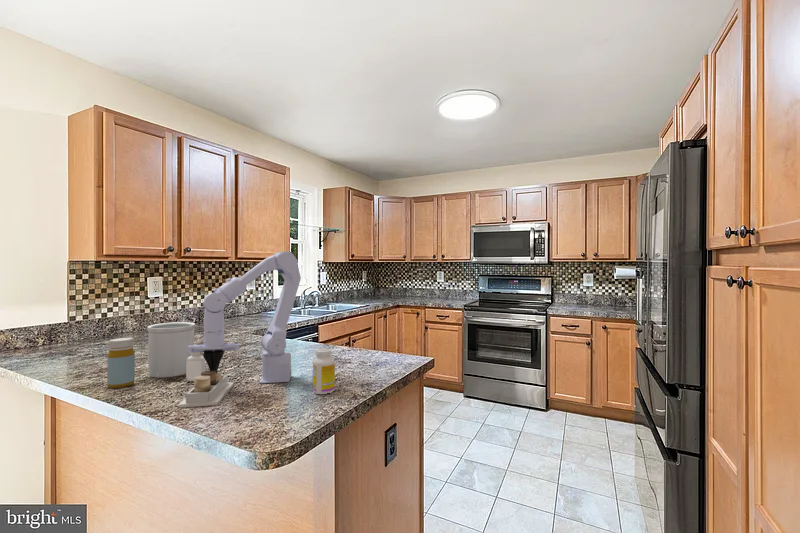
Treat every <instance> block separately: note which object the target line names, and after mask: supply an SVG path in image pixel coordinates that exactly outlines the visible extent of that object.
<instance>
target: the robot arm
mask: <svg viewBox="0 0 800 533" xmlns="http://www.w3.org/2000/svg"><path fill="white" fill-rule="evenodd" d="M270 271H271V272H272V271H277V272H279V274H280V275H281V276H282V278H283V279H284V281H283V285H282V288H281V292H280V295H279V299H278V301H277V303H276V307H275V311H274V314H273V317H272V321H271V324H270V325H269V327H268V328H267V330H266V332H265V334H264V335H263V336H262V338H261V342H260V343H261V346H262V348H263V349H264V350H263V351H262V353H261V356H262V359H261V360H262V362H261V363H262V364H261V365H262V366H261V368H262V370H261V373H262V374H261V376H262V377H261V378H260V380H259V383H258V384H270V383H271V384H272V383H286V382H287V383H288V382H290V380H291V377H292V372H293V371H292V354H291V352H285V350H286V348H287V340H286V337H287V326H288V322H289V320H290V317H291V316H290V315H291V312H292V310H293V306H294V302H295V301H296V300H295V299H296V296H297V292H298V289H299V286H300V283H301V279H302V278H301V272H300V269H299V261H298V259H297V258H296V256H295V255H294V253H292V252H290V251H288V250H285V251H280V252H279V251H278V252H275V253H273V255H270V256H268V257H266V258H264V259H263V260H261V261H260V262H259V263H257V264H256V265H255V266H253V267H251V269H250V270H248V271H247V272H245V273H244V274H243V275H241V276H239V277H237V276H233V277H229V278H227V279H226V281H225V282H224V283H223V284H222V285H221V286H219V287H218V288H217V287H215V288H214V289H213V292H211V293H208V294H207V295H206V296H205V297H204V299H203V301H202V305H203V307H204V311H203V312H204V317H203V344H194V345H190V346H188V353H192V352H200V353H201V352H202V353H203V354H202V356H203V357H204V359H205V363H206V364H207V366H208V371H211V370H213V371H216V374H217V372H219V366H220V363H221V360H222V358H223V356H224V354H225V351H226V352H228V351H230V352H231V351H235V352H236V351H237V352H238V351H239V350H240V343H229V342H227V343H225V315H224V308H225V307H226V305H227V304H229V303H231V302H232V301H234V300H235V299H236V298H238V297H239V296H240V295H242V294H243V293H244V292H245V291H246V290H247V285H248V284H250V283H252V282H254V281H255V280H256V279H258V278H259V277H260V276H262V275H263V274H265V273H267V272H270Z"/></svg>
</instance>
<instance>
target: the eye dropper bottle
mask: <svg viewBox="0 0 800 533" xmlns="http://www.w3.org/2000/svg"><path fill="white" fill-rule="evenodd" d="M204 371H206V360H205V359H204V357H203V355H201V352H192V356H190V357H188V358H187V361H186V374H185V375H186V376H185V378H186V379H185V380H186V381H187V382H194V378H196V377H199V376H201V373H202V372H204Z"/></svg>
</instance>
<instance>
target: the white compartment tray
mask: <svg viewBox="0 0 800 533" xmlns="http://www.w3.org/2000/svg"><path fill="white" fill-rule="evenodd" d="M234 383H235V382H234V381H233V382H232V381H231V382H229V375H228V374H221V380H216V385H211V386H210V391H209V392H197V393H194V386H193V387H192V388H190V389H189V390H188V391H187V392H185V398H183V399H182V400H181V401H180V402H179V403H178V404H177V408H178V409H179V408H192V407H206V406H207V407H208V406H218V405H219V404H220V403H221V401H222V400H223V399H224V398H225V397H226V395H227V394H228V393H229V391H230V390H231V389H232V388H233V387H234V385H235V384H234Z"/></svg>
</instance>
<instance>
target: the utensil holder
mask: <svg viewBox="0 0 800 533" xmlns="http://www.w3.org/2000/svg"><path fill="white" fill-rule="evenodd" d="M195 327H196V323H195V322H189V321H188V322H187V321H174V322H162V323H155V324H151V325H148V326H147V332H148V334H147V335H148V336H147V338H148V340H147V344H148V351H147V352H148V353H147V354H148V355H147V356H148V358H147V359H148V361H147V362H148V364H147V366H148V376H149V377H151V378H172V377H173V378H174V377H178V376H183V375H186V361H187V358H188V357H190V356H192V353H188V346H190V345H195V344H194V343H195Z"/></svg>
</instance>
